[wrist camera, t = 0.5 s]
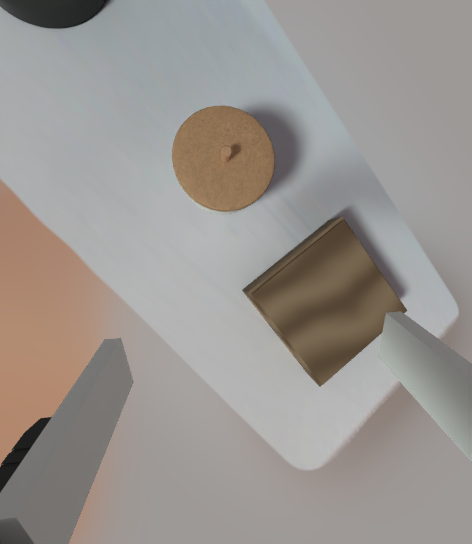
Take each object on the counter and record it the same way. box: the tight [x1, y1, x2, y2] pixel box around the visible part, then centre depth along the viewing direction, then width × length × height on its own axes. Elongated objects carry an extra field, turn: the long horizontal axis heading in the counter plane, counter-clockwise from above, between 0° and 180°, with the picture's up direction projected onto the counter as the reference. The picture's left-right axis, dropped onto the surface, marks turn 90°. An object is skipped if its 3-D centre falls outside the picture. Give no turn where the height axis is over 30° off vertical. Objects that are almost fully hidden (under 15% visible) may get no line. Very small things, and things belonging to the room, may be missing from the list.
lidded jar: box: [172, 106, 275, 215], centre depth 28 cm, size 11×11×9 cm
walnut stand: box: [242, 216, 407, 386], centre depth 34 cm, size 16×16×4 cm
